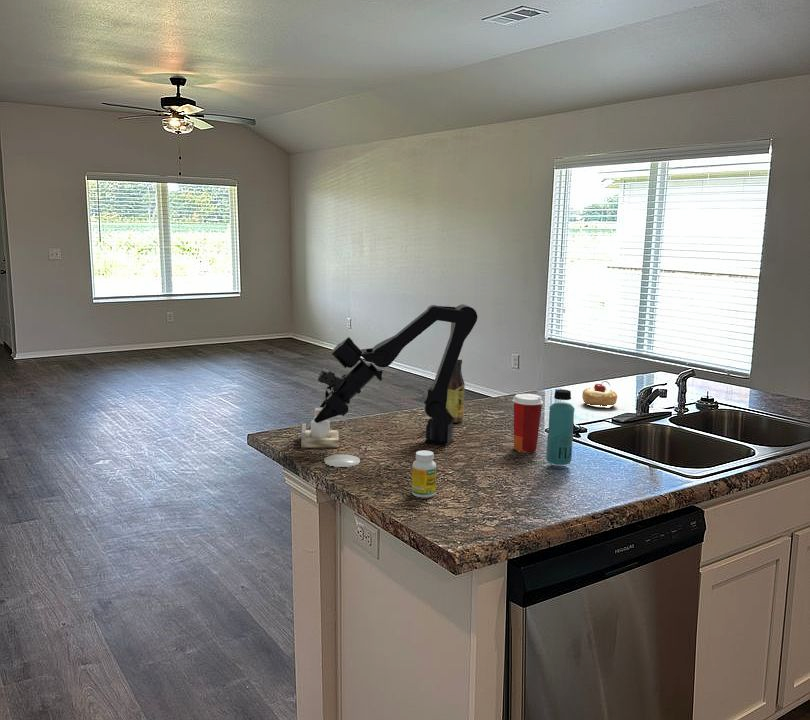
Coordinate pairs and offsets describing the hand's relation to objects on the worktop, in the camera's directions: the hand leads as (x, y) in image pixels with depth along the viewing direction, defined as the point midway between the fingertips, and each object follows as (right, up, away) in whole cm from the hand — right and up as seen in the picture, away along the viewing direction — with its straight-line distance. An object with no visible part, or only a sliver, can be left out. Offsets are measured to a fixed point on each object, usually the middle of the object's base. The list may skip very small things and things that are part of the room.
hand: (315, 419), depth 201 cm
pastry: (+93, 0, +57) cm, 109 cm away
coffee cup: (+57, -9, 0) cm, 58 cm away
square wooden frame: (+1, -7, +1) cm, 7 cm away
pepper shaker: (+1, -7, +1) cm, 7 cm away
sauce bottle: (+40, -3, +29) cm, 49 cm away
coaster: (+9, -10, -16) cm, 20 cm away
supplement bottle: (+29, -14, -36) cm, 49 cm away
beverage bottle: (+64, -11, -14) cm, 66 cm away
